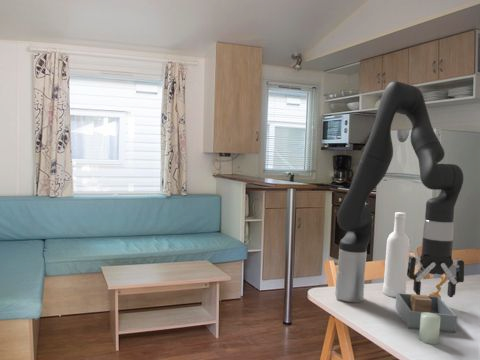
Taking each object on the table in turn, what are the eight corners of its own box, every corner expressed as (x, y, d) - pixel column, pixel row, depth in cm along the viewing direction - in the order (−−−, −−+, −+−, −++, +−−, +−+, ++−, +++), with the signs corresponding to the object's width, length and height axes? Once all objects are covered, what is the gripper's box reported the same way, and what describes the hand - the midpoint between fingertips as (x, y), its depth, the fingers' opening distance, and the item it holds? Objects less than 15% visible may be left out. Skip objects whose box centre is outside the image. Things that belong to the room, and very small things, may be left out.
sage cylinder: (422, 343, 120) (424, 318, 120) (416, 335, 125) (418, 311, 125) (441, 345, 120) (443, 320, 119) (434, 337, 125) (436, 313, 124)
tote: (408, 328, 130) (409, 311, 130) (395, 307, 147) (396, 292, 147) (455, 332, 129) (456, 316, 128) (436, 311, 146) (438, 296, 145)
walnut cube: (409, 308, 145) (411, 293, 145) (425, 310, 145) (426, 295, 144) (414, 314, 140) (415, 299, 140) (430, 315, 140) (431, 300, 139)
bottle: (408, 298, 157) (415, 215, 155) (386, 297, 157) (393, 213, 155) (401, 291, 165) (407, 211, 163) (380, 290, 165) (386, 210, 163)
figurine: (430, 299, 158) (433, 266, 157) (449, 303, 155) (452, 269, 154) (425, 305, 151) (428, 270, 150) (444, 309, 148) (447, 274, 147)
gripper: (460, 236, 124) (455, 293, 125) (407, 232, 125) (403, 289, 126) (470, 241, 116) (466, 301, 117) (414, 237, 118) (410, 297, 119)
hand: (433, 295), depth 122 cm, fingers open, 8 cm apart
